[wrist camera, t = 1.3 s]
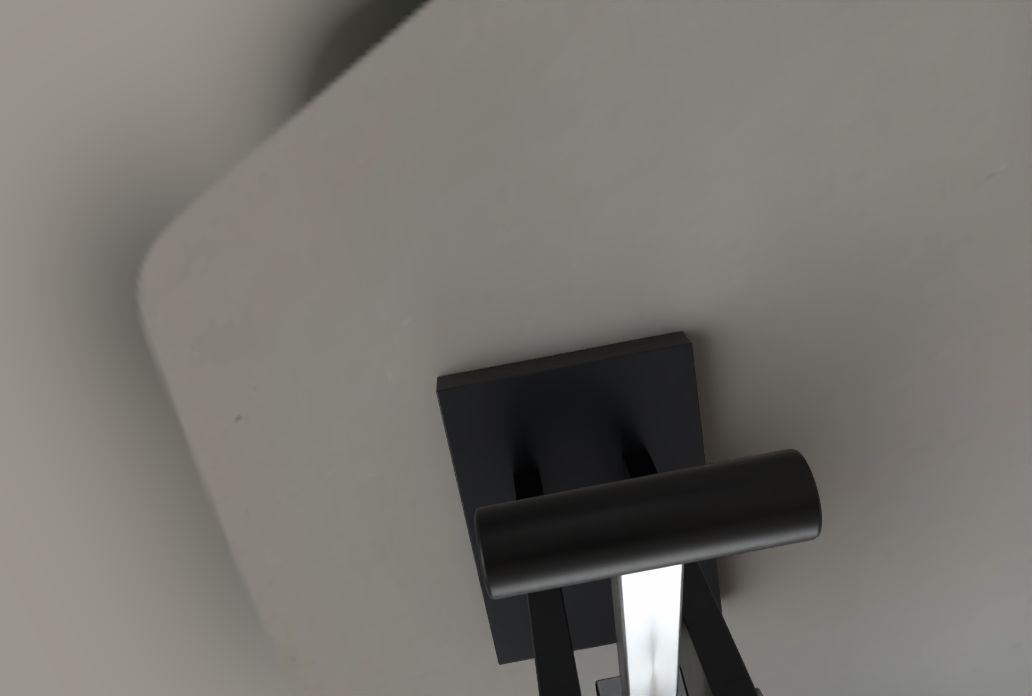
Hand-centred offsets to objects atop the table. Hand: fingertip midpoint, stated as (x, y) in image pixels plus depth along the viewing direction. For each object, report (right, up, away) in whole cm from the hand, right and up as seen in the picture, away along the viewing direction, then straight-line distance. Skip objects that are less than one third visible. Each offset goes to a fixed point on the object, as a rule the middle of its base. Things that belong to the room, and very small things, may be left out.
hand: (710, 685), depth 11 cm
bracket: (0, -2, +23) cm, 23 cm away
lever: (0, -1, +8) cm, 8 cm away
